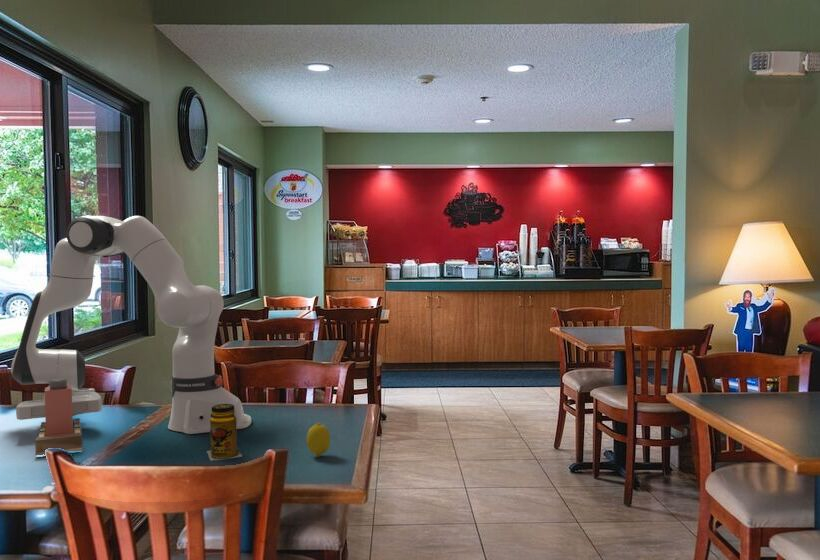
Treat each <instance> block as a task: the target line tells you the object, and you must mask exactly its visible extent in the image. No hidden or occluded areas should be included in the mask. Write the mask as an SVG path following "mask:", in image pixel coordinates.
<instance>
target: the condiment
mask: <svg viewBox="0 0 820 560" xmlns="http://www.w3.org/2000/svg"><path fill="white" fill-rule="evenodd" d="M211 410H212V417H211V419H210V432H209V434H210V435H209V436H210V450H207V451H206V454H207V455H208V458H209V460H210V461H211V462H212V461H222V460H229V459H235V458H241V457H243V455H242V454H241V452H240V450H239V447H238V434H237V433H238V432H237V431H238V429H237V425H236V424H237V423H236V416H235V415H234V413H235V411H234V405H232V404H219V405H215V406H213V407H212V409H211Z"/></svg>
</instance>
